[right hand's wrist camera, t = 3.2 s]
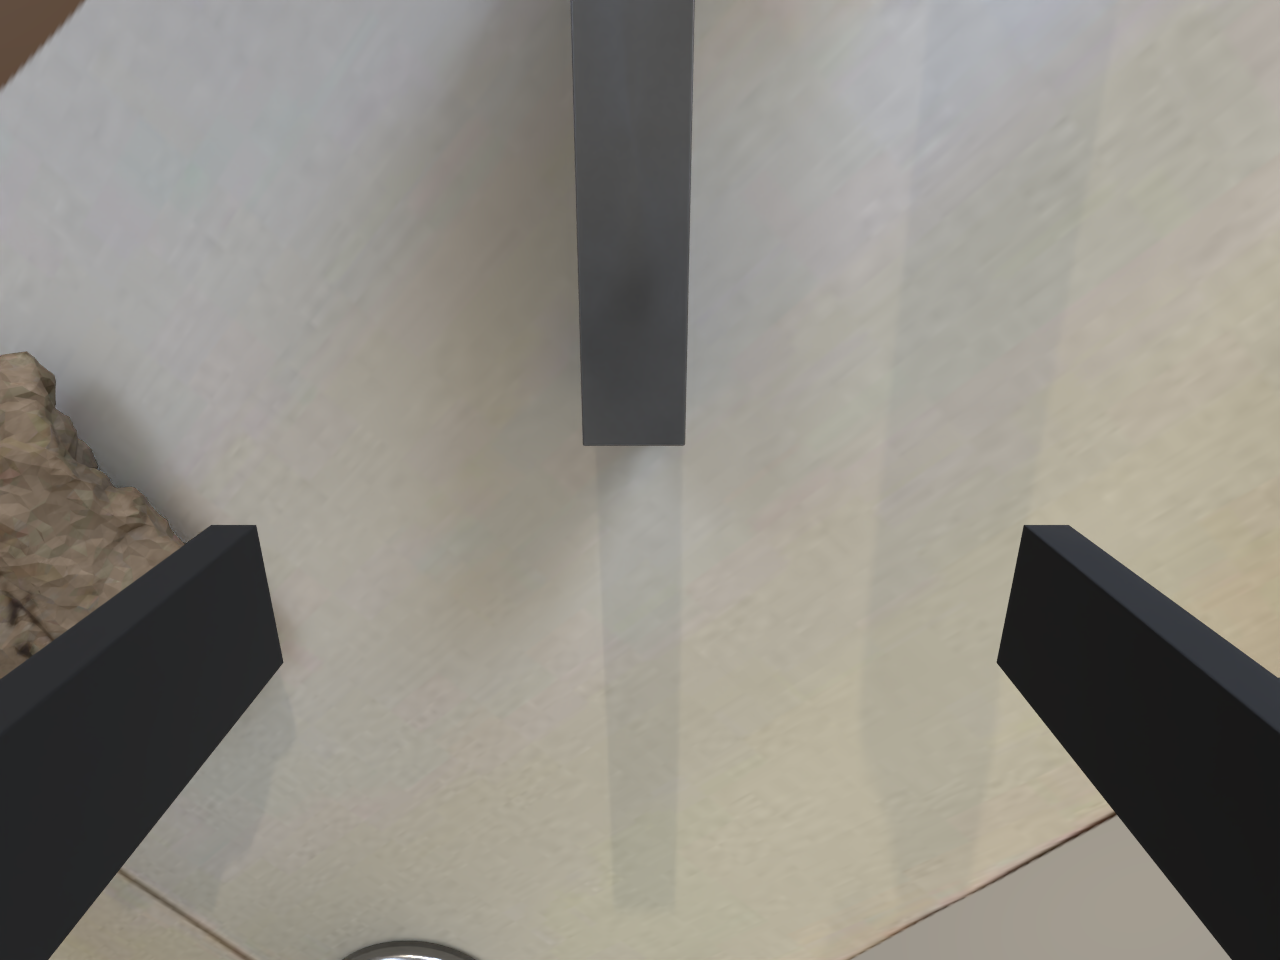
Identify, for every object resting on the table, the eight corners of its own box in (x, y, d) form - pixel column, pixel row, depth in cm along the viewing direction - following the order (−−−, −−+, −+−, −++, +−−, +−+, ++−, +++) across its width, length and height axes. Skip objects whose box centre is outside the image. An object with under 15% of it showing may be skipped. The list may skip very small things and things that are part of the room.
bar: (675, 398, 42) (685, 446, 33) (594, 398, 42) (582, 446, 33) (683, -138, 33) (700, -264, 25) (582, -138, 33) (562, -264, 25)
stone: (-205, 474, 40) (-302, 519, 34) (41, 334, 40) (-16, 357, 35) (98, 717, 49) (60, 782, 44) (292, 600, 50) (278, 650, 45)
